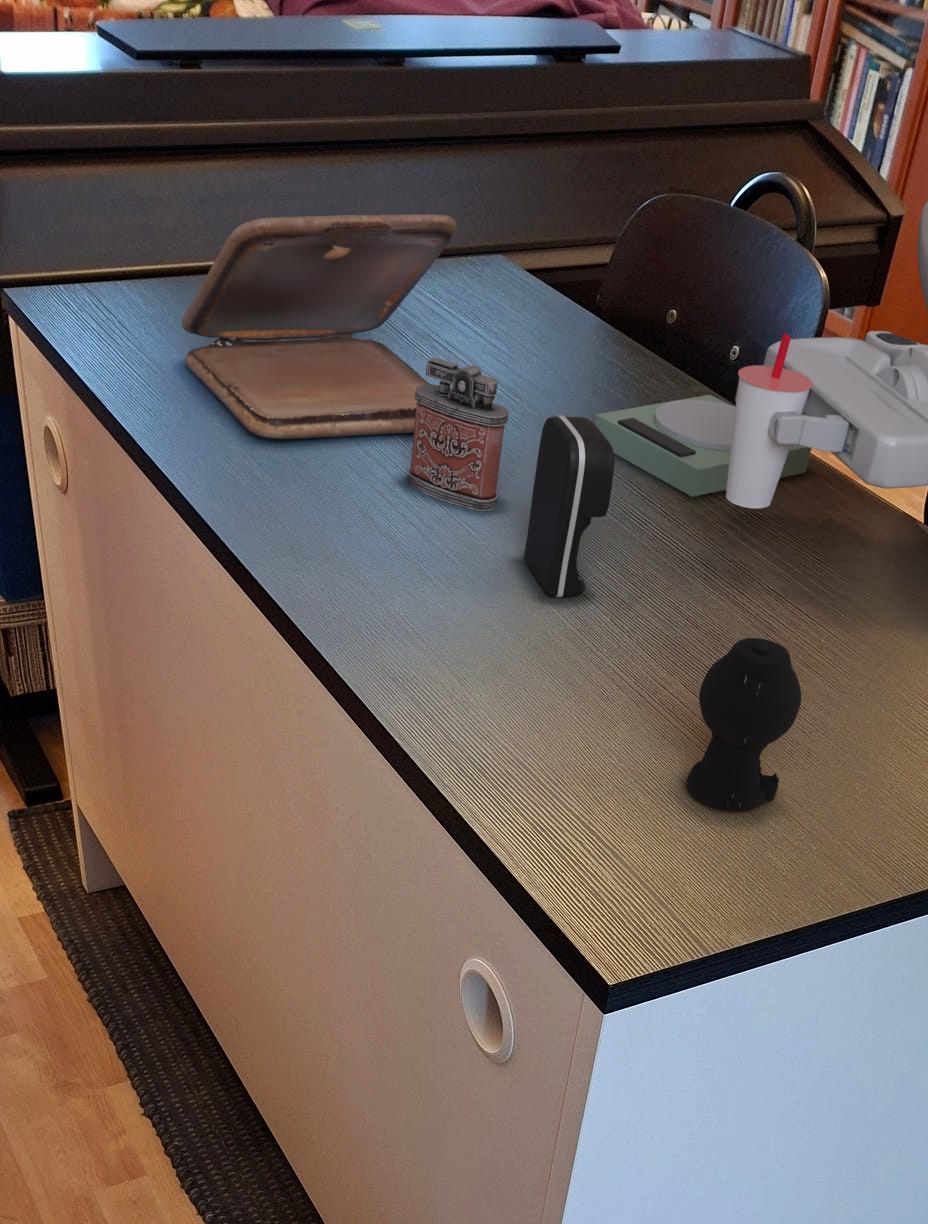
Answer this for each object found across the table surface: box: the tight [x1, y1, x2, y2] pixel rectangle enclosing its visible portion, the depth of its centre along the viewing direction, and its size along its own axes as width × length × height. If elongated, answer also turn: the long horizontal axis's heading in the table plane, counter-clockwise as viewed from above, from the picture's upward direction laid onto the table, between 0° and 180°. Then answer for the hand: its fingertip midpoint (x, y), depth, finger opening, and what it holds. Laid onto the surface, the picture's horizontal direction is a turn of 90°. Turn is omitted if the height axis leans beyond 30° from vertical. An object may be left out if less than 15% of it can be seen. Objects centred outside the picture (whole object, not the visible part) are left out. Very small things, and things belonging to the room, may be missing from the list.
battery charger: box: [523, 414, 616, 598], centre depth 115 cm, size 7×4×11 cm, turn 15°
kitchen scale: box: [594, 394, 813, 498], centre depth 139 cm, size 14×13×3 cm
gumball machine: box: [686, 627, 802, 819], centre depth 94 cm, size 7×6×10 cm
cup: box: [725, 332, 813, 509], centre depth 115 cm, size 5×5×12 cm
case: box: [181, 213, 458, 440], centre depth 136 cm, size 20×21×16 cm
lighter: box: [406, 356, 510, 512], centre depth 125 cm, size 8×3×10 cm, turn 58°
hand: (756, 411), depth 115 cm, fingers closed on cup, 5 cm apart
